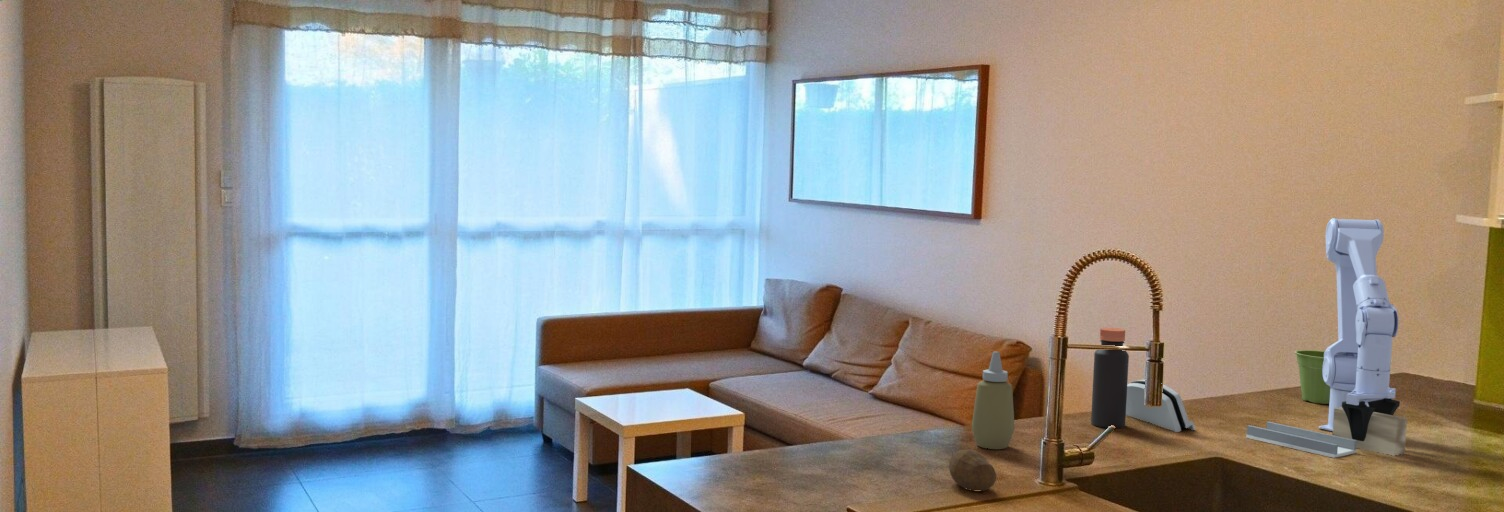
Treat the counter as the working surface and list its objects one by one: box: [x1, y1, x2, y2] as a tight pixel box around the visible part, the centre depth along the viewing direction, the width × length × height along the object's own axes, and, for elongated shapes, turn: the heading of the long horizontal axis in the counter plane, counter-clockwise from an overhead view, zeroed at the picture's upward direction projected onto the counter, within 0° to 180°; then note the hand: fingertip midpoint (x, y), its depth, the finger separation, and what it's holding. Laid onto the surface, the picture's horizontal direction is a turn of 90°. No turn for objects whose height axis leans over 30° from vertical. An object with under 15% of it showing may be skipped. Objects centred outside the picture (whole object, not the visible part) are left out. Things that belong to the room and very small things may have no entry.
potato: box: [948, 448, 997, 491], centre depth 190 cm, size 7×10×6 cm
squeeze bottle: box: [971, 351, 1015, 450], centre depth 218 cm, size 8×8×18 cm
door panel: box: [1332, 407, 1408, 457], centre depth 225 cm, size 4×12×7 cm, turn 35°
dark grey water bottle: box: [1090, 327, 1130, 429], centre depth 238 cm, size 7×7×20 cm
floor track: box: [1245, 421, 1358, 459], centre depth 226 cm, size 8×18×2 cm, turn 35°
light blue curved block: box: [1126, 379, 1196, 433], centre depth 243 cm, size 17×5×10 cm, turn 19°
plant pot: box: [1294, 349, 1349, 405], centre depth 270 cm, size 12×12×11 cm
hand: (1368, 437), depth 225 cm, fingers open, 7 cm apart
